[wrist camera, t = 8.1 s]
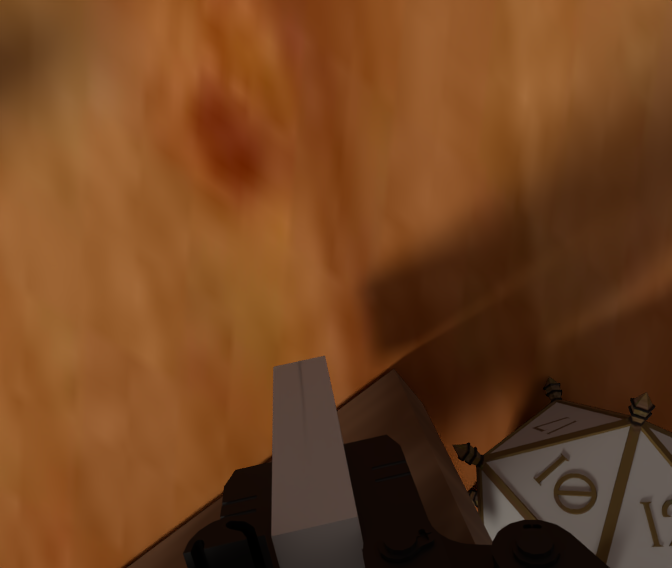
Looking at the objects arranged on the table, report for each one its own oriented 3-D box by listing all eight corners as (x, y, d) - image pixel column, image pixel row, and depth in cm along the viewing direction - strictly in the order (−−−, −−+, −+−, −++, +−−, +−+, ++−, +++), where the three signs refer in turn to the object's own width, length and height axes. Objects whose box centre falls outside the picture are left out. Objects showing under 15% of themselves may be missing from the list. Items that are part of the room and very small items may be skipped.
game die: (514, 443, 25) (593, 740, 19) (369, 396, 20) (412, 775, 14) (734, 355, 19) (941, 731, 13) (606, 265, 15) (837, 781, 9)
